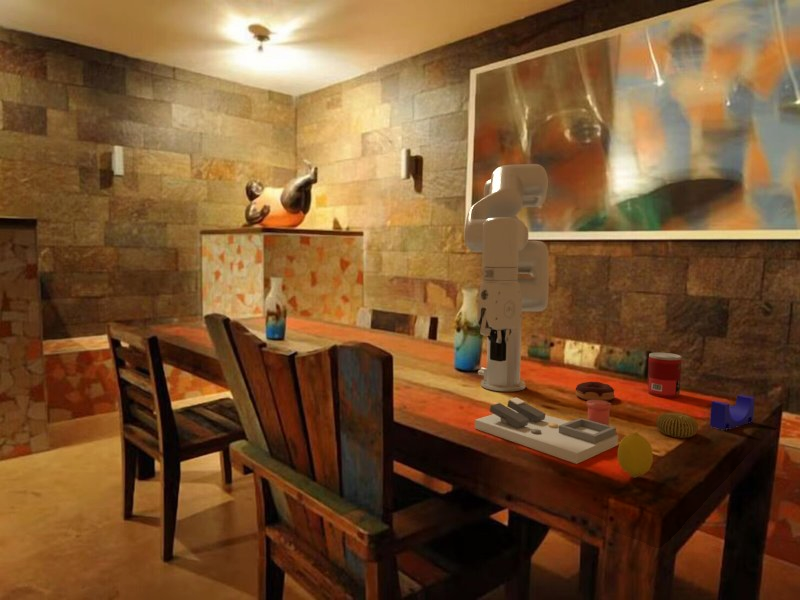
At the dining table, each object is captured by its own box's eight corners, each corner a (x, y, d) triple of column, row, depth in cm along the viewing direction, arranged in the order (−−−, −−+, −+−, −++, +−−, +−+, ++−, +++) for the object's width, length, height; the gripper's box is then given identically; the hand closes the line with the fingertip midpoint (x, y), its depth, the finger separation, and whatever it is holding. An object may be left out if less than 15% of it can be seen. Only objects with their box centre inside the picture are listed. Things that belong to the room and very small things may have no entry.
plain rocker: (488, 415, 115) (490, 405, 114) (497, 412, 117) (499, 403, 116) (517, 432, 109) (519, 422, 108) (526, 428, 111) (528, 419, 110)
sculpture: (688, 424, 107) (649, 414, 113) (687, 443, 107) (648, 432, 113) (705, 416, 112) (666, 408, 118) (704, 435, 112) (666, 425, 118)
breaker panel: (474, 428, 115) (475, 412, 115) (517, 415, 125) (517, 400, 125) (576, 463, 96) (577, 445, 96) (617, 445, 106) (618, 428, 105)
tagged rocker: (506, 410, 118) (508, 399, 118) (514, 407, 120) (517, 397, 120) (535, 426, 113) (537, 415, 112) (543, 423, 114) (546, 412, 114)
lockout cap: (581, 429, 115) (582, 402, 115) (593, 424, 118) (594, 398, 118) (602, 435, 111) (603, 407, 111) (614, 430, 115) (615, 403, 114)
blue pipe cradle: (732, 417, 124) (734, 393, 124) (752, 423, 120) (754, 397, 120) (703, 426, 118) (704, 400, 118) (723, 431, 114) (725, 405, 114)
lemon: (610, 471, 93) (612, 427, 92) (640, 470, 93) (642, 426, 93) (626, 485, 88) (628, 438, 87) (658, 484, 88) (660, 437, 87)
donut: (597, 392, 147) (598, 378, 147) (623, 401, 138) (623, 386, 137) (567, 395, 144) (567, 380, 143) (591, 405, 134) (591, 389, 134)
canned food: (683, 399, 140) (685, 358, 139) (651, 397, 141) (653, 357, 140) (674, 391, 147) (676, 353, 146) (644, 390, 149) (645, 351, 148)
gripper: (490, 277, 105) (488, 367, 106) (535, 275, 114) (533, 358, 116) (462, 275, 110) (461, 361, 112) (507, 274, 120) (506, 353, 121)
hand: (497, 360), depth 114 cm, fingers closed
